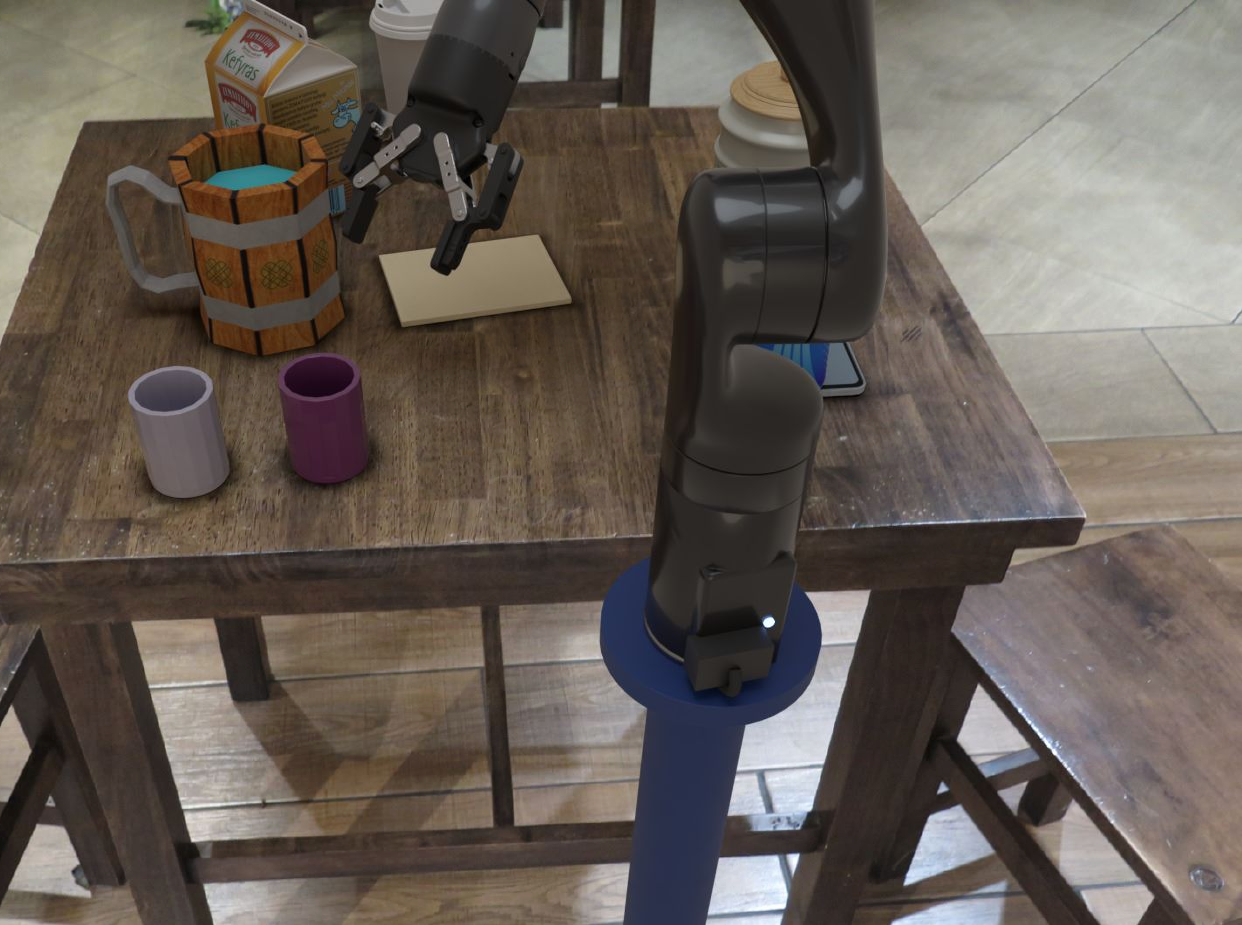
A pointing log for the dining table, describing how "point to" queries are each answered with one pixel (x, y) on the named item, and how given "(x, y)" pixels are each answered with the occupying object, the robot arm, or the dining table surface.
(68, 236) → the dining table surface
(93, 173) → the dining table surface
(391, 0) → the coffee cup
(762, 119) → the jar
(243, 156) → the mug
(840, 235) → the robot arm
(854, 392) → the smartphone
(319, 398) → the plum cup
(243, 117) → the milk carton
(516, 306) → the placemat
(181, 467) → the grey cup
